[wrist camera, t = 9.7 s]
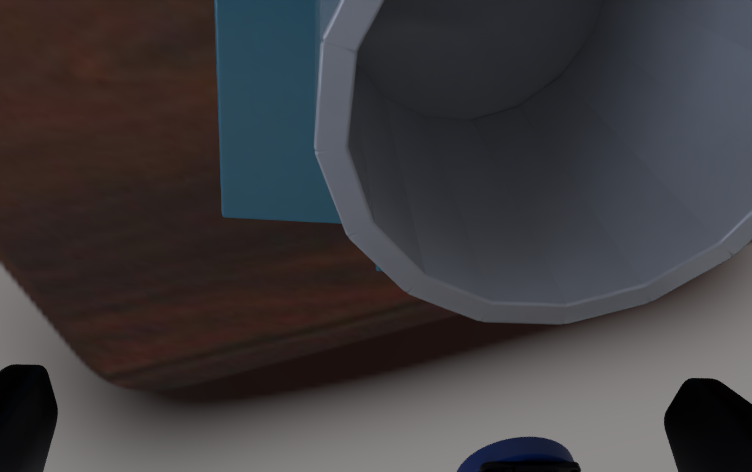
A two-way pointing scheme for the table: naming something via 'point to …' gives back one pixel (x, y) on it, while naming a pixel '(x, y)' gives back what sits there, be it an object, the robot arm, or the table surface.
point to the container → (268, 112)
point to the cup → (537, 147)
